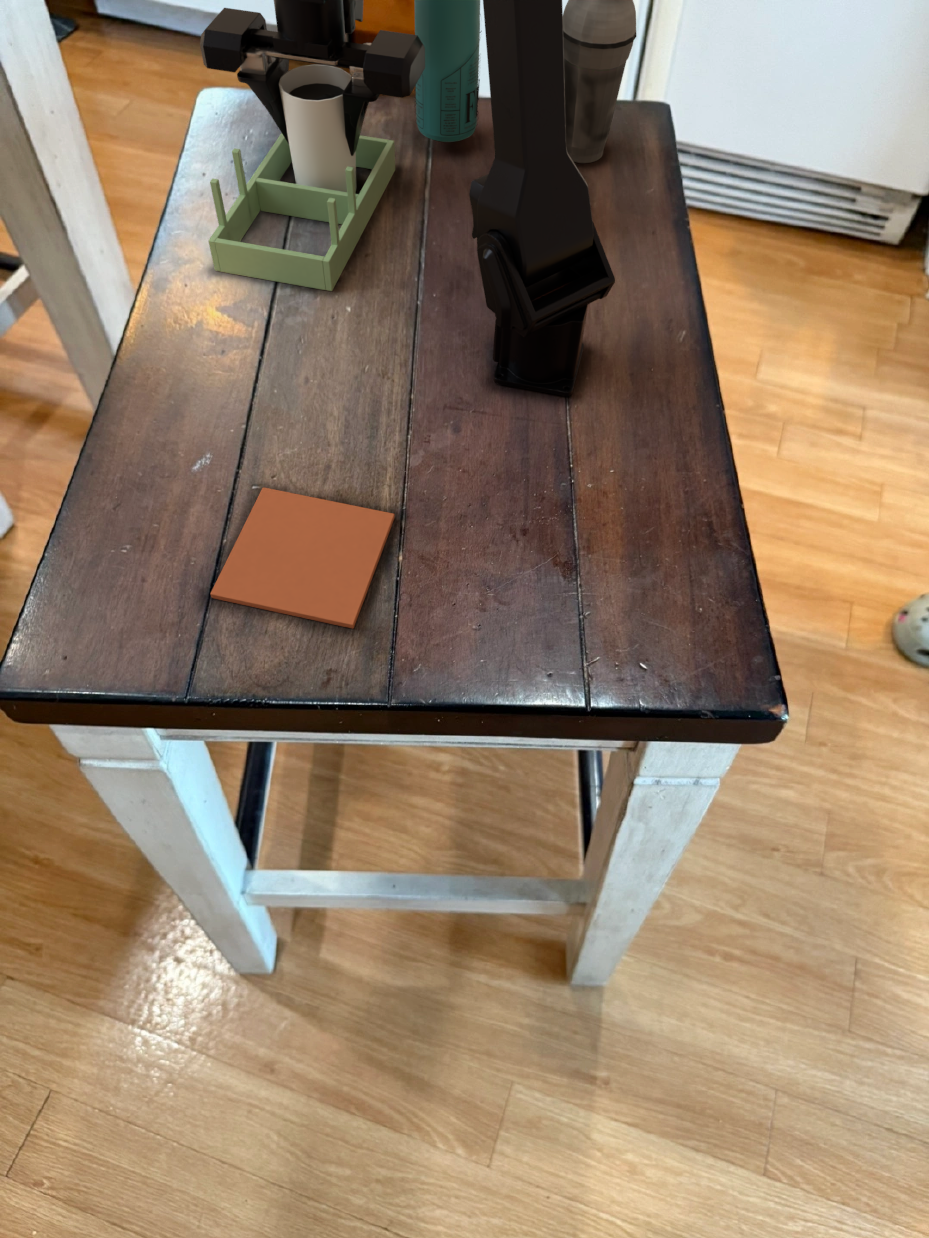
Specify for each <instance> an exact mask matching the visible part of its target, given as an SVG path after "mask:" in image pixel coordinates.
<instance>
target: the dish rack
mask: <svg viewBox="0 0 929 1238" xmlns="http://www.w3.org/2000/svg"><path fill="white" fill-rule="evenodd" d="M231 154H232V160H233V166H234V173H235V177H236V183H237V187H238V192H239V195H238V196H237V197H236V199H235V200H234V202H233V204H232V205H231V206H230V208H229V210H228V211H227V212H226V211H225V210H226V209H225V205H224V199H223V195H222V191H221V189H222V188H221V184H220V180H219V179H218V178H211V180H210V181H209V184H210V189H211V190H210V191H211V194H212V200H213V204H214V209H215V213H216V214H215V215H216V218H217V223H218V226H217V227H216V228H215V230H214V231H213V233H212V234H211V236H210V237H209V238H208V246H209V250H210V255H211V260H212V263H213V268H214V271H215V272H221V273H226V274H231V275H237V276H243V277H249V278H254V279H260V280H266V281H272V282H277V283H282V284H288V285H293V286H300V287H306V288H311V289H317V290H322V291H328V292H333V291H334V288H335V287H336V285H337V282H338V281H339V279H340V277H341V275H342V273H343V271H344V270H345V267H346V266H347V264H348V261H350V258H351V256H352V254H353V252H354V250H355V248H356V246H357V245H358V243H359V241H360V239H361V237H362V235H363V233H364V231H365V229H366V227H367V225H368V223H369V221H370V219H371V217H372V216H373V213H374V212H375V210H376V208H377V206H378V204H379V202H380V200H381V198H382V196H383V194H384V192H385V190H386V189H387V187H388V185H389V183H390V181H391V179H392V177H393V175H394V173H395V171H396V148H395V140H393V139H387V138H382V137H381V138H380V137H375V136H368V135H361V134H360V137H359V140H358V144H357V148H356V168H361V169H368V170H371V171H370V173H369V175H368V177H367V178H366V181H365V182H364V184H363V186H362V188H361V190H360V191H359V193H356V192H355V180H354V168H353V167H348V166H347V168H346V170H345V172H346V184H347V192H342V191H336V190H330V189H323V188H317V187H311V186H305V185H299V184H296V183H292V182H286V181H281V180H282V178H283V176H284V175H285V173H286V172H287V170H288V169H289V167H290V165H292V158H291V152H290V146H289V144H288V142H287V141H286V139H285V137H284V136H283V134H282V133H281V132H280V134H279V136H278V138H277V139H276V140H275V142H274V144H273V145H272V146H271V148H270V149H269V151H268V152H267V153H266V155H265V157H264V158H263V159H262V161H261V163H260V164H259V166H258V167H257V169H255V171H254V172H253V174H252V176H251V177H250V179H249V180H248V182H247V180H246V175H245V174H246V173H245V169H244V163H243V158H242V152H241V149H240V148H235V147H234V148H233V149H232V151H231ZM260 212H265V213H272V214H278V215H283V216H290V217H296V218H301V219H307V220H313V221H320V222H325V223H328V224H329V233H330V234H329V235H330V243H331V244H330V247H329V248H328V250H327V252H326V254H325V255H317V254H313V253H306V252H301V251H295V250H290V249H285V248H277V247H272V246H266V245H259V244H254V243H248V242H243V241H242V240H243V238H244V237H245V235H246V233H247V232H248V231H249V229H250V228H251V226H252V224H253V223H254V221H255V219H256V218H257V216H258V215H259V213H260ZM339 225H341V226H340V228H339Z"/></svg>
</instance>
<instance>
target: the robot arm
mask: <svg viewBox="0 0 929 1238" xmlns="http://www.w3.org/2000/svg"><path fill="white" fill-rule="evenodd" d="M482 5H483V16H484V17H483V18H484V31H485V45H486V55H487V68H488V71H487V72H488V83H489V94H490V95H489V96H490V107H491V121H492V132H493V133H492V134H493V135H492V136H493V147H494V158H493V162H492V164H491V166H490V169H489V171H488V174H484V175H482V176H480V177H478V178H475V179H473V180H471V183H470V186H469V192H468V196H469V201H470V206H471V212H472V231H471V237H472V239H473V240H475V239H476V253H477V260H478V265H479V271H480V277H481V282H482V287H483V288H482V289H483V293H484V298H485V299H484V300H485V305H486V308H487V309H489V310H490V311H491V312H492V313H493V314H494V316H495V321H494V335H493V348H492V349H493V350H492V360H493V362H494V363H497V365H496V368H495V371H494V374H493V382H494V383H496V384H497V385H503V386H508V387H512V388H513V387H514V388H519V389H524V390H530V391H535V392H539V393H540V392H541V393H546V394H552V395H556V396H562V397H570V396H572V394H573V392H574V389H575V384H576V380H577V376H578V372H579V370H580V369H579V368H580V364H581V361H582V357H583V352H584V349H585V348H584V347H585V344H584V343H583V339H584V333H585V326H586V322H587V321H586V320H587V315H588V310H589V309H588V308H589V305H590V304H592V303H594V302H596V301H598V300H602V299H604V298H606V297H607V296H608V295H609V293H610V291H611V289H612V288H613V287H614V285H615V283H616V277H615V275H614V272H613V269H612V267H611V265H610V261H609V260H608V257H607V255H606V252H605V249H604V246H603V244H602V242H601V239H600V236H599V234H598V230H597V229H596V226H595V224H594V221H593V214H592V206H591V199H590V190H589V185H588V182H587V181H586V179H585V178H584V176H583V175H582V173H581V171H580V170H579V168H578V167H577V165H576V163H575V162H573V160H572V159H571V157H570V156H569V154H568V152H567V147H566V123H565V85H564V47H563V13H564V9H563V0H482ZM273 6H274V14H275V21H276V22H275V23H276V29H277V31H276V30H275V31H274V30H269V29H268V28H267V20H266V18H265V16H264V15H262V13H261V12H257V11H250V10H245V9H244V10H241V9H236V8H229V7H223V8H222V10H220V12H219V13H218V14H217V15H216V16H215V17H214V19H212V20H211V22H210V23H209V24H208V26H206V28H204V30H203V31H202V33H200V41H199V46H200V52H201V57H202V62H203V66H204V67H205V68H206V69H209V70H216V71H223V72H229V73H236V72H237V71H238V70H239V71H238V72H237V73H236V77H237V80H238V83H239V82H240V83H241V84H246V85H247V86H248V87H249V88H250V90H251V91H252V92H253V94H254V95H255V96H256V98H257V99H258V100H259V101H260V103H261V105H263V107H264V108H265V110H267V112H268V114H269V116H270V117H271V119H272V120H273V121H274V123H275V125H276V126H277V128H278V130H279V131H280V134H281V133H282V134H283V136H284V137H285V139H286V141H287V142H288V144H289V141H288V135H287V127H286V122H285V117H284V112H283V106H282V101H281V95H280V89H279V81H280V78H281V76H283V75H284V74H285V73H286V72H288V71H289V70H290V61H295V62H303V63H309V64H317V65H328V66H334V67H337V68H341V69H349V74H350V75H351V78H352V79H351V80H350V82H349V83H348V85H347V86H346V88H345V90H344V91H343V93H342V96H343V110H344V123H345V136H346V139H347V143H348V146H349V150H350V154H351V156H353V155H354V153H355V151H356V148H357V144H358V140H359V137H360V135H361V133H362V129H363V125H364V121H365V117H366V113H367V110H368V106H369V105H370V103H374V102H376V101H377V100H378V99H379V97H380V96H387V97H395V98H401V99H402V98H407V97H411V94H413V93H412V92H413V91H414V87H415V85H416V84H417V82H418V80H419V78H420V76H421V75H422V73H423V71H424V69H425V48H424V45H423V43H422V42H421V40H420V38H419V37H418V35H415V34H413V33H404V32H397V31H392V30H391V31H390V30H383V29H380V30H379V31H378V32H377V34H376V36H375V37H374V38H373V40H372V42H364V43H357V42H351V41H347V39H346V34H351V35H352V34H353V32H355V30H356V28H357V27H356V21H357V22H359V23H362V22H363V21H364V0H273Z"/></svg>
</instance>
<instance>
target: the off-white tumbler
mask: <svg viewBox="0 0 929 1238" xmlns="http://www.w3.org/2000/svg"><path fill="white" fill-rule="evenodd" d="M351 76H352V75H350V72H347V71H346V70H344V68H342V67H335V66H328V65H322V64H315V63H312V64H307V65H299V66H297V67H294V68H291V69H289V71H288V72H286V73H285V74H284V75H283V76H281V78H280V81H279V89H280V95H281V101H282V106H283V112H284V117H285V122H286V127H287V135H288V141H289V146H290V152H291V158H292V162H291V164H292V168H293V174H294V180H295V184H299V185H305V186H311V187H317V188H323V189H330V190H336V191H342V192H347V184H346V172H345V170H346V168H347V166H348V167H353V168H354V180H355V193H356V191H357V167H356V151H355V153H354V155H353V156H351V154H350V150H349V146H348V143H347V139H346V136H345V123H344V110H343V96H342V93H343V91H344V90H345V88H346V86H347V85H348V83H349V82H350V80H351V79H352V78H351Z"/></svg>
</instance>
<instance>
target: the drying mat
mask: <svg viewBox="0 0 929 1238" xmlns="http://www.w3.org/2000/svg"><path fill="white" fill-rule="evenodd" d="M395 519H396V518H395V513H392V512H387V511H383V510H378V509H374V508H367V507H362V506H358V505H354V504H353V505H352V504H348V503H344V502H338V501H332V500H329V499H323V498H320V497H319V498H318V497H314V496H308V495H304V494H298V493H294V492H288V491H284V490H278V489H273V488H269V487H262V488H261V490H260V492H259V493H258V496H257V499H256V501H255V502H254V505H253V506H252V508H251V510H250V512H249V515H248V516H247V518H246V521H245V523H244V525H243V526H242V529H241V531H240V533H239V535H238V537H237V538H236V541H235V542H234V544H233V547H232V549H231V551H230V553H229V555H228V557H227V559H226V561H225V563H224V566H223V567H222V569H221V571H220V573H219V575H218V577H217V580H216V582H215V583H214V586H213V587H212V589H211V591H210V598H211V599H215V600H219V601H224V602H229V603H234V604H237V605H243V606H247V607H252V608H257V609H261V610H265V611H270V612H274V613H279V614H284V615H287V616H288V615H289V616H293V617H298V618H302V619H305V620H306V619H307V620H312V621H315V622H321V623H325V624H330V625H334V626H339V627H342V628H343V627H344V628H348V629H353V630H354V628H355V626H356V623H357V621H358V619H359V614H360V612H361V610H362V607H363V604H364V602H365V598H366V597H367V594H368V592H369V588H370V585H371V583H372V580H373V577H374V575H375V572H376V570H377V567H378V564H379V561H380V559H381V557H382V553H383V550H384V548H385V545H386V543H387V540H388V537H389V534H390V532H391V529H392V526H393V525H394V524H393V523H394V521H395Z"/></svg>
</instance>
